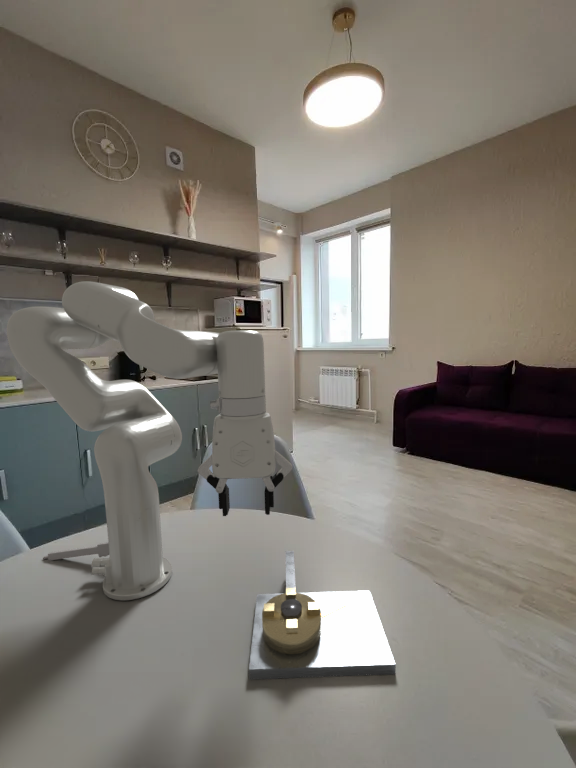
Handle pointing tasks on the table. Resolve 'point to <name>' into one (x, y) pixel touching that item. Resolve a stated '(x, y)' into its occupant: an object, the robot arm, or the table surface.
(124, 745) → the table surface
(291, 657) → the base plate
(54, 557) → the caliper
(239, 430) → the robot arm
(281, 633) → the gold disc with handle
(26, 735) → the table surface
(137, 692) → the table surface
